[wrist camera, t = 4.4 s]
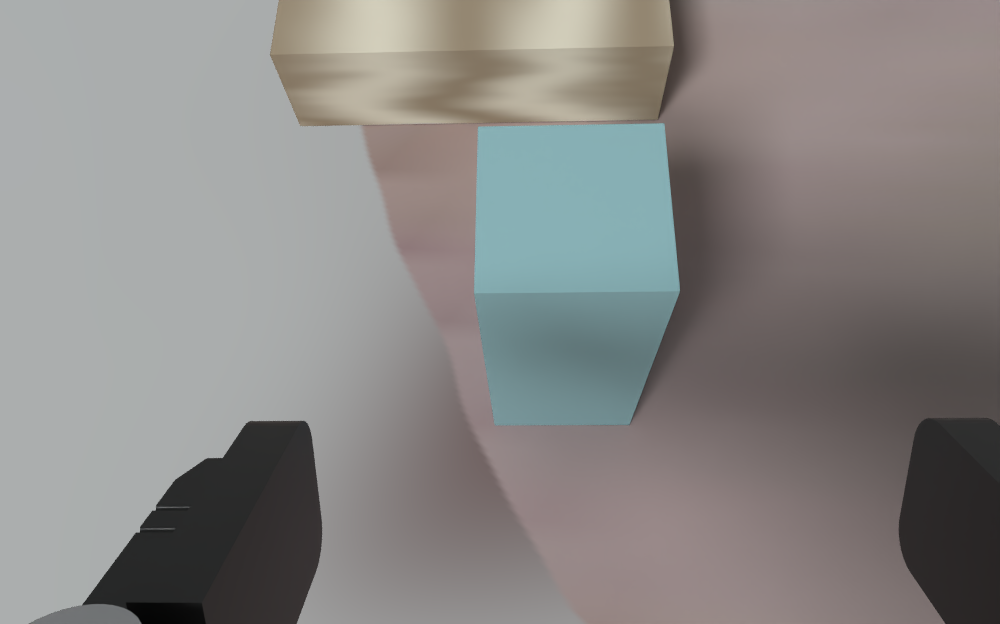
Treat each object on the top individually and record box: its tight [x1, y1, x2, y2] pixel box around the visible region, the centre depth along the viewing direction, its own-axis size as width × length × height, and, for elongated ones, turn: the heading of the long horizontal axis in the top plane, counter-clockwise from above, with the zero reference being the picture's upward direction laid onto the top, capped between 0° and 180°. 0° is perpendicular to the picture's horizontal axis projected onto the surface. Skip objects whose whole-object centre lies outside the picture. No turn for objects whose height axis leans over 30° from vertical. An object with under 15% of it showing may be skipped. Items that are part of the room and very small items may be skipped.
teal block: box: [474, 123, 680, 425], centre depth 23 cm, size 4×4×10 cm
